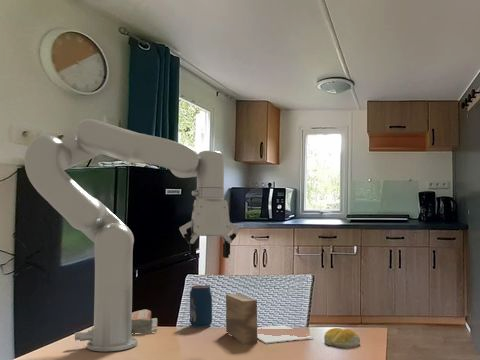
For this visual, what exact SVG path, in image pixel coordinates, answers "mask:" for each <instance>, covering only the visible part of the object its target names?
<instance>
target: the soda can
mask: <svg viewBox="0 0 480 360" xmlns="http://www.w3.org/2000/svg"><path fill="white" fill-rule="evenodd" d="M212 322H213V292H212V290H211V286H210V285H193V286H191V289H190V292H189V323H190V325H191V326H192V327H193V328H203V329H204V328H208V327H210V326H211V324H212Z"/></svg>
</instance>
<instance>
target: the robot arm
mask: <svg viewBox="0 0 480 360" xmlns="http://www.w3.org/2000/svg"><path fill="white" fill-rule="evenodd" d="M24 155H25V156H24V167H25V168H24V170H25V172H26V175H27V178H28V180H29V182H30V183H31V185H32V186H33V188H34V189H35V190H36V191H37V193H38V194H39V195H40V196H41V197H42V198H43V199H44V200H46V201H47V202H48V204H50V206H51V207H52V208H53V209H54V210H55V211H57V213H59V214H60V215H61V216H62V217H63V218H64V219H65V220H66V221H67V222H68V224H69V225H70V226H71V227H72V228H74V229H75V230H78V231H81V232H82V234H84V235H85V236H86V237H87V238H88V239H89V240H90V241H92V243H94V298H93V299H94V302H93V303H94V305H93V326H92V327H91V330H87V331H86V332H85V331H84V332H83V331H80V332H79V331H77V332H74V341H79V342H84V341H88V342H86V347H87V349H88V350H90V351H92V352H93V351H94V352H104V353H105V352H119V351H125V350H128V349H131V348H135V347H136V346H137V345H138V339H137V338H136V337H134V336H132V335H131V331H132V313H133V312H132V311H133V258H134V257H133V255H134V254H133V251H134V250H133V249H134V243H135V237H134V234H133V232H132V230H131V229H130V228H129V226H127V224H125V223H124V222H123V221H122V220H121V219H119V217H117V216H116V214H114V213H113V212H112V211H111V210H110V209H109V208H108V207H107V206H106V205H104V203H102V202H101V201H100V200H99V199H98V198H96V197H94V196H92V195H91V194H89V193H88V192H87V191H86V190H85V189H84V188H83V187H81V186H80V185H79V184H78V183H77V182H76V181H75V180H74V179H73V178H72V177H71V176H70V175H69V174H68V173H67V172H66V170H70V169H71V168H74V167H76V166H78V165H79V164H82V163H84V162H88V161H89V160H92V159H94V158H95V157H98V156H99V155H102V156H107V157H110V158H113V159H116V160H119V161H122V162H126V163H129V164H148V165H153V166H154V165H155V166H159V167H161V168H165V169H168V170H170V173H172V175H174V176H175V177H177V178H179V179H180V178H183V179H186V178H196V189H195V190H192V191H191V195H192V196H195V199H194V202H193V204H192V206H193V207H192V211H191V213H192V214H191V220H190V221H188V222H187V223H185V224H184V225H181V226H179V229H178V230H179V231H180V233H181V235H182V238H184V239H185V241H187V243H188V244H189V246H188V247H189V248H188V255H189V256H190V259H193V260H194V259H197V243H196V241H197V239H198V238H199V237H221V238H222V240H223V243H222V257H223V258H225V259H229V258H230V255H231V244H232V242H233V241H234V240H235V238H236V237H237V236H238V234H239V232H240V227H239V226H237V225H235V224H234V223H232V222H231V221H230V213H229V212H230V211H229V204H228V201H227V200H226V199H225V198H224V197H225V196H224V195H225V194H224V193H225V188H224V187H225V186H224V185H225V183H224V182H225V157H224V154H223V153H222V152H221V151H217V150H203V151H200V152H199V153H197V151H196V150H195V149H193V148H192V147H191V146H189V145H187V144H184V143H180V142H178V141H174V140H171V139H168V138H163V137H159V136H155V135H149V134H146V133H139V132H136V131H133V130H130V129H126V128H122V127H120V126H117V125H114V124H111V123H107V122H105V121H102V120H99V119H98V120H97V119H92V118H86V119H83V120H81V121H80V122H79V123H78V124H77V125H76V126H75V129H74V134H71V135H69V136H66V137H65V138H62V139H60V138H57V136H54V135H50V134H42V135H39V136H36V137H34V139H32V140H31V142H30V143H29V145H28V147H27V148H26V151H25V154H24ZM188 229H190V232H191V236H190V234H188V232H187V230H188ZM231 230H232V232H231V233H230V231H231Z"/></svg>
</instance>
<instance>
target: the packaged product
mask: <svg viewBox="0 0 480 360" xmlns="http://www.w3.org/2000/svg"><path fill="white" fill-rule="evenodd" d="M157 330H158V318H157V317H154V318H152V311H151V310H149V309H146V308H145V309H141V310H140V309H139V310H136V311H133V312H132V331H131V334H132V333H133V334H135V333H152V332H156V331H157ZM156 333H157V332H156Z"/></svg>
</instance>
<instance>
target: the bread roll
mask: <svg viewBox="0 0 480 360" xmlns="http://www.w3.org/2000/svg"><path fill="white" fill-rule="evenodd" d="M323 337H324V338H323V339H324V343H325V344H326V345H328V346H332V347H336V348H345V349H346V348H354V347H357V346H359V345H360V342H361V338H360V336H359V335H358V334H357V332H355V331H354V330H351V329H350V328H345V329H342V328H340V327H335V328H334V327H333V328H330V329H328V330H327V331H326V332H325V333H324V336H323Z"/></svg>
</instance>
